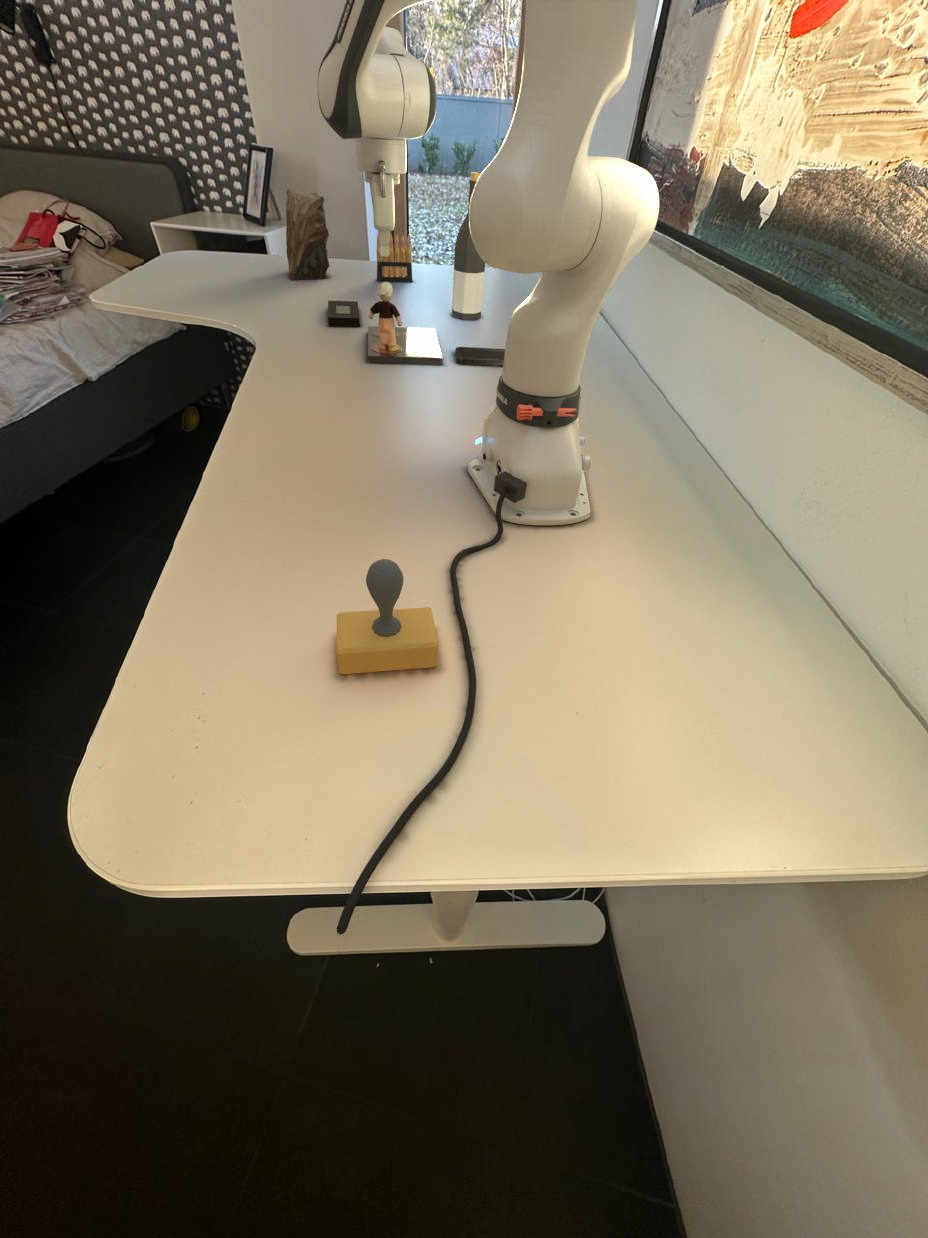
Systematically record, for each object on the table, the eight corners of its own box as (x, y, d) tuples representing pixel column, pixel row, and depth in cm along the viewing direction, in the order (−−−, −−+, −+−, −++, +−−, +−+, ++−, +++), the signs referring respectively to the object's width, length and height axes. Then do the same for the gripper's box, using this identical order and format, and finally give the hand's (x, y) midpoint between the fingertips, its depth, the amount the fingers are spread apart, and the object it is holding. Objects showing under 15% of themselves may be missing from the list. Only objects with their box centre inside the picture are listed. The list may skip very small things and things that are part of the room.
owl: (289, 269, 169) (278, 187, 155) (330, 270, 171) (324, 189, 157) (289, 279, 160) (277, 194, 146) (333, 280, 163) (326, 196, 149)
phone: (455, 346, 125) (519, 349, 126) (454, 351, 126) (519, 354, 127) (457, 358, 119) (524, 361, 121) (457, 364, 120) (524, 367, 122)
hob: (442, 365, 119) (442, 357, 118) (368, 363, 117) (367, 355, 116) (434, 335, 133) (434, 327, 132) (368, 332, 131) (367, 325, 130)
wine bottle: (447, 317, 144) (454, 171, 124) (455, 309, 150) (462, 169, 129) (477, 321, 143) (488, 175, 123) (484, 313, 149) (495, 172, 128)
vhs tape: (328, 326, 132) (327, 317, 131) (328, 309, 143) (328, 300, 141) (360, 327, 134) (359, 318, 132) (358, 309, 144) (357, 301, 142)
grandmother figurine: (405, 347, 121) (405, 281, 112) (401, 352, 118) (400, 286, 110) (372, 342, 122) (369, 277, 113) (367, 348, 119) (363, 281, 110)
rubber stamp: (430, 629, 61) (433, 541, 52) (437, 669, 57) (441, 580, 48) (339, 635, 59) (328, 545, 51) (339, 676, 55) (327, 586, 47)
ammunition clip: (377, 281, 166) (375, 233, 158) (376, 279, 167) (375, 232, 159) (412, 282, 168) (412, 235, 160) (411, 280, 169) (411, 233, 161)
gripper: (401, 165, 91) (402, 262, 100) (397, 155, 105) (398, 241, 115) (363, 162, 90) (367, 261, 100) (363, 152, 105) (368, 239, 114)
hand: (384, 250), depth 107 cm, fingers open, 8 cm apart
